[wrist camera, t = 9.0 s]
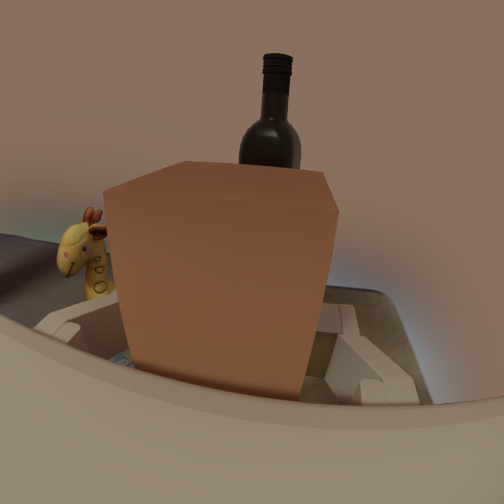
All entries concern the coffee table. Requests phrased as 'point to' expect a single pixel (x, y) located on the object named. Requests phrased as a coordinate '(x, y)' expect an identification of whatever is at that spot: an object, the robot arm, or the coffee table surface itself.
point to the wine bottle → (273, 120)
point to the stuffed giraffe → (88, 259)
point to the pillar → (222, 272)
